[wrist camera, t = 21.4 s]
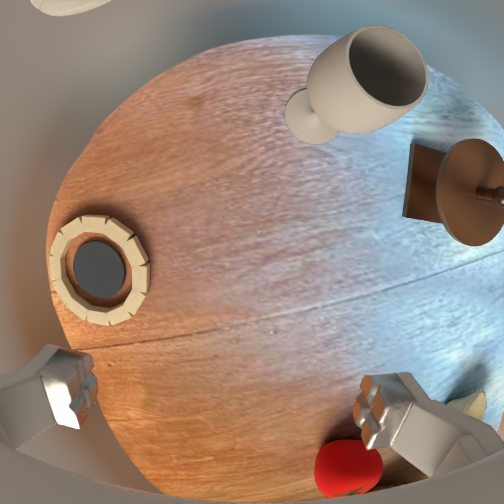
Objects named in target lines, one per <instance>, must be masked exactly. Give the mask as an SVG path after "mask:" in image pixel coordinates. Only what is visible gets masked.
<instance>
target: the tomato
mask: <svg viewBox="0 0 504 504" xmlns="http://www.w3.org/2000/svg"><path fill="white" fill-rule="evenodd" d="M382 473H383V462H382V458H381V456H380V454H379V453H378V451H377V450H376V449H368V450H367V449H366V447H365V444H364V442H363V441H361V440H352V439H342V440H336V441H333V442H330V443H328V444H326V445H325V446H323V447H322V448H321V450H320V451H319V453H318V455H317V458H316V462H315V469H314V475H315V482H316V484H317V486H318V488H319V490H320V491H321V492H322V493H323V494H324V495H325V496H327V497H328V498H337V497H345V496H351V495H357V494H363V493H365V492H367V491H368V490H370V489H371V488H372V487H374V486H375V485H376V484H377V483H378V481H379V480H380V478H381V476H382Z"/></svg>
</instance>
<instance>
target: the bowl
mask: <svg viewBox="0 0 504 504" xmlns="http://www.w3.org/2000/svg"><path fill="white" fill-rule="evenodd" d="M486 404H487V402H486V395H485V392H484V391H483V390H480V389H477V390H476V391H475V392H474V393H472V394H470V395H469V396H467V397H464V398H461V399H454V400H451V401H450V402H448V403H447V404H446V405H447V406H449V407H451V408H453V409H456V410H458V411H460V412H462V413H464V414H466V415H468V416H471V417H473V418H475V419H477V420H479V421H482V419H483V415H484V412H485V409H486Z"/></svg>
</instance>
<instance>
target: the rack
mask: <svg viewBox="0 0 504 504" xmlns="http://www.w3.org/2000/svg"><path fill="white" fill-rule="evenodd" d="M402 216H403V217H406V218H412V219H418V220H424V221H430V222H436V223H442V224H443V225H444V227H445V229H446V230H447V231H448V233H449V234H450V235H451V236H452V237H453V238H454V239H455V240H457V241H458V242H460V243H463V244H465V245H468V246H481V245H484V244H486V243H488V242H489V241H491V240H492V239H493V238H494V237H495V236H496V235H497V234H498V233H499V231H500V230H501V228H502V226H503V224H504V161H503V159H502V157H501V156H500V154H499V153H498V151H497V150H496V149H495V148H494V147H493V146H492V145H490V144H489V143H487V142H486V141H484V140H481V139H465V140H461V141H459V142H457V143H456V144H455V145H453V146H452V147H451V148H450V149H449V150H448V152H447V153H445V152H442V151H439V150H435V149H432V148H429V147H425V146H422V145H418V144H410V156H409V166H408V176H407V184H406V192H405V200H404V207H403V214H402Z"/></svg>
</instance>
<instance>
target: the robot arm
mask: <svg viewBox="0 0 504 504" xmlns="http://www.w3.org/2000/svg"><path fill="white" fill-rule="evenodd" d="M93 367H94V363H93V358H92V356H91V355H90V354H88V353H83V352H79V351H75V350H71V349H67V348H63V347H59V346H55V345H51V344H49V345H46V346H45V347H44V348H43V349H42V350H41V351H40V352H39V353H38V354H37V355H36V356H35V357H34V358H33V359H32V360H31V361H30V362H29V363H28V365H26V367H25V368H24V369H23V370H22V369H16V370H13V371H10V372H7V373H4V374H1V375H0V504H504V441H503V440H502V439H501V438H500V436H499V435H498V434H497V433H496V431H495V430H494V429H493V428H492V427H491V426H490V425H488V424H486V423H484V422H482V421H479V420H477V419H475V418H473V417H471V416H468V415H466V414H464V413H462V412H460V411H458V410H456V409H453V408H451V407H449V406H447V405H445V404H443V403H441V402H439V401H437V400H431V399H430V398H429V397H428V395H427V394H426V393H425V391H424V390H423V389H422V388H421V386H420V385H419V384H418V382H417V381H416V380H415V378H414V377H413V376H412V375H411V373H409V372H399V373H393V374H383V375H367V376H365V377H364V378H363V379H362V382H361V385H360V387H361V389H362V392H361V393H360V394H359V395H358V396H357V397H356V399H355V402H354V405H353V417H354V421H355V423H356V425H357V426H358V427H360V428H361V429H363V430H362V432H361V437H362V440H363V442H364V444H365V447H366V449H367V450H368V449H377V448H384V447H391V446H392V447H391V448H392V449H393V450H395V451H396V452H397V453H398V454H400V455H401V456H402V457H404V458H405V459H406V460H407V461H409V462H410V463H411V464H413V465H414V466H415V467H416V468H418V469H419V470H420V471H422V472H423V473H424V474H426V475H427V476H428V477H430V478H427V479H424V480H420V481H417V482H413V483H409V484H405V485H401V486H397V487H393V488H388V489H384V490H379V491H374V492H369V493H363V494H357V495H351V496H345V497H337V498H329V499H320V500H309V501H295V502H267V503H253V502H225V501H211V500H200V499H190V498H182V497H175V496H168V495H162V494H156V493H150V492H145V491H140V490H135V489H131V488H126V487H122V486H118V485H114V484H110V483H106V482H103V481H99V480H95V479H92V478H89V477H85V476H82V475H79V474H76V473H73V472H70V471H67V470H64V469H61V468H59V467H56V466H53V465H51V464H48V463H45V462H43V461H40V460H38V459H36V458H33V457H30V456H29V455H26V454H24V453H22V452H20V451H17V450H15V449H16V448H17V447H19V446H21V445H23V444H24V443H26V442H28V441H29V440H31V439H32V438H34V437H36V436H38V435H39V434H41V433H42V432H44V431H45V430H47V429H49V428H50V427H52V426H54V425H55V424H56V423H59V424H63V425H66V426H69V427H73V428H77V429H81V427H82V425H83V423H84V421H85V419H86V418H87V416H88V415H87V411H86V409H88V408H90V407H92V406H93V405H94V403H95V401H96V397H97V392H98V384H97V378H96V377H95V375H94V374H93V373H92V372H91V370H92V369H93Z"/></svg>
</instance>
